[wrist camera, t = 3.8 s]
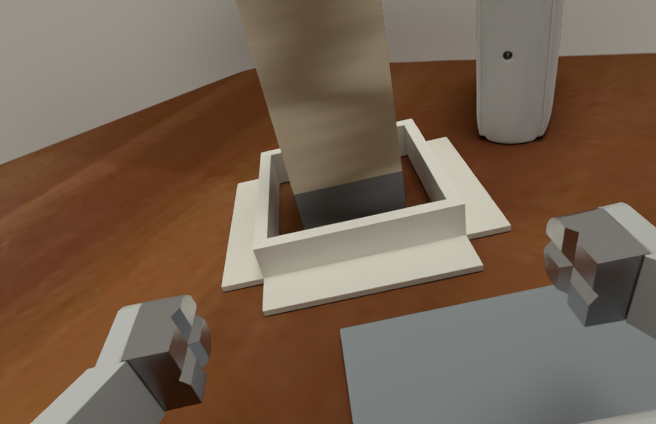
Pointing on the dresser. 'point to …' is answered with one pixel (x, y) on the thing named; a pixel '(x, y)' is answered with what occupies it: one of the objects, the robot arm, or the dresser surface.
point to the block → (329, 104)
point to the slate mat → (498, 365)
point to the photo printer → (516, 67)
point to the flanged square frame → (361, 234)
